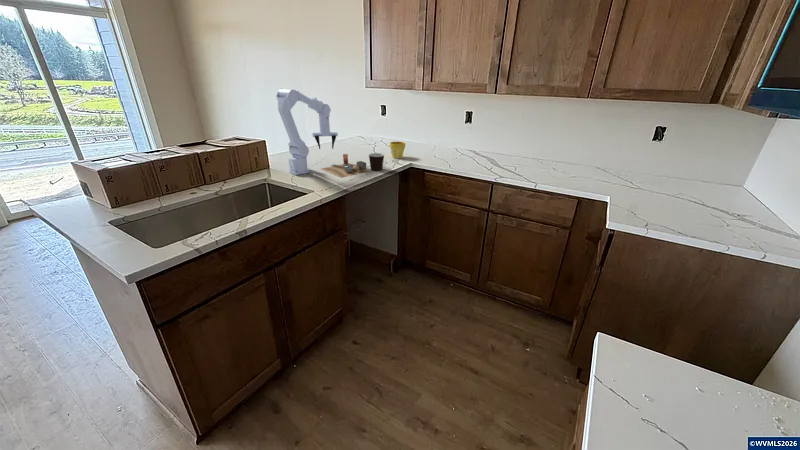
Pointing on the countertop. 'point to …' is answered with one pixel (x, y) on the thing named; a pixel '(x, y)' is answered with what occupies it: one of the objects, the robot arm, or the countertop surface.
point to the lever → (347, 164)
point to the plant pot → (397, 149)
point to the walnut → (356, 167)
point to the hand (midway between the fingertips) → (326, 148)
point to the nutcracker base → (341, 172)
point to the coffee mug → (376, 161)
